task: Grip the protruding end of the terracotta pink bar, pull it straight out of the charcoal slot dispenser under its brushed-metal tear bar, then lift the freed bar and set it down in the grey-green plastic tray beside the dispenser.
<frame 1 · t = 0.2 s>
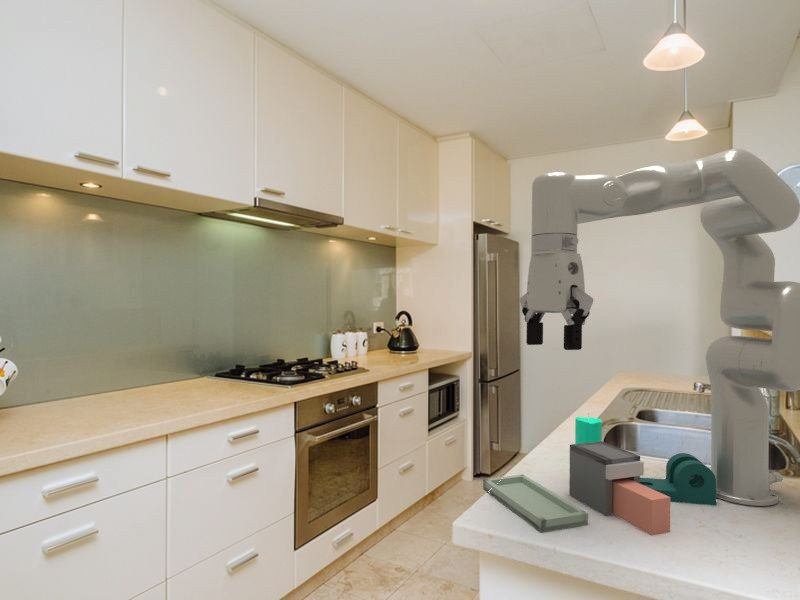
hand: (552, 347, 85), 31 cm above the counter, fingers open, 9 cm apart
terracotta pink bar: (624, 515, 90), on the counter
dispenser: (603, 502, 95), on the counter
tray: (531, 505, 94), on the counter
bracket: (659, 496, 100), on the counter
candle: (588, 464, 119), on the counter
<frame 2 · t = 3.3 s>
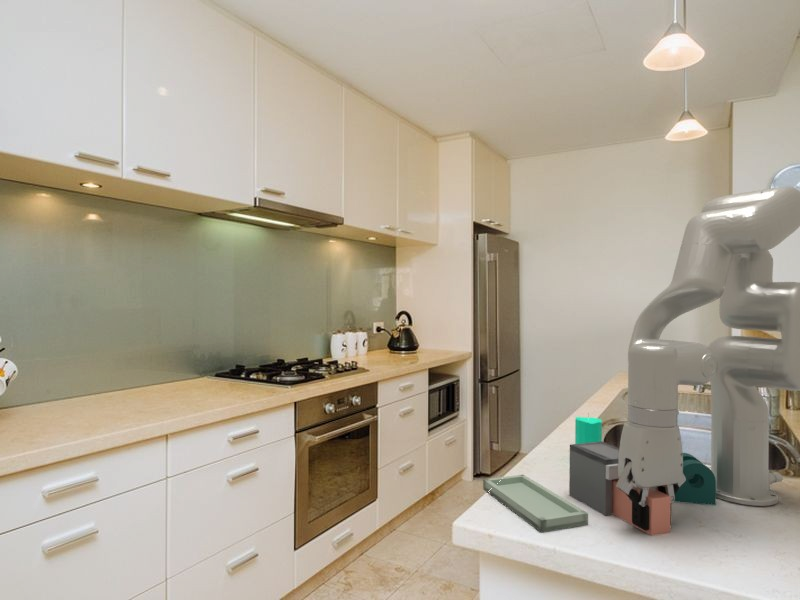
hand: (651, 523, 85), 1 cm above the counter, fingers closed on terracotta pink bar, 4 cm apart
terracotta pink bar: (624, 514, 90), on the counter, touching gripper
everything else where it was.
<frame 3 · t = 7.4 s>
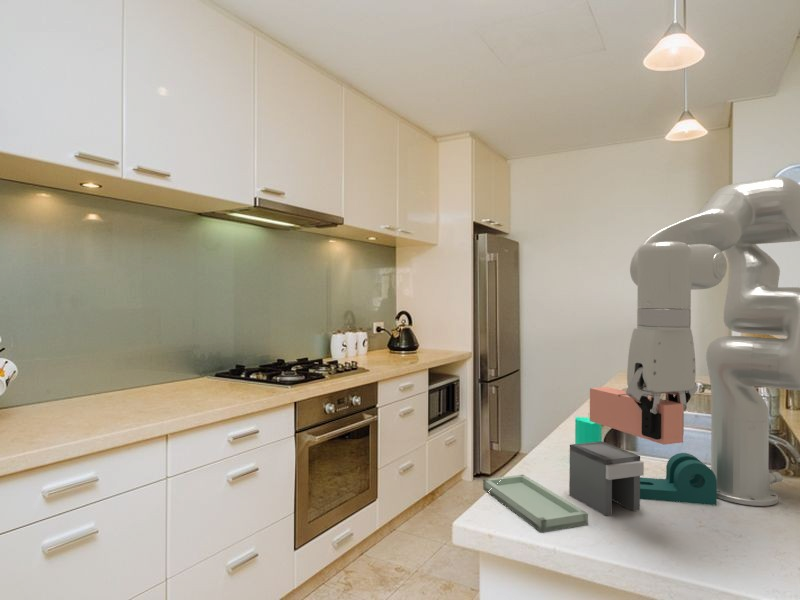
hand: (662, 434, 79), 17 cm above the counter, fingers closed on terracotta pink bar, 4 cm apart
terracotta pink bar: (632, 430, 85), point 16 cm above the counter, touching gripper
everything else where it was.
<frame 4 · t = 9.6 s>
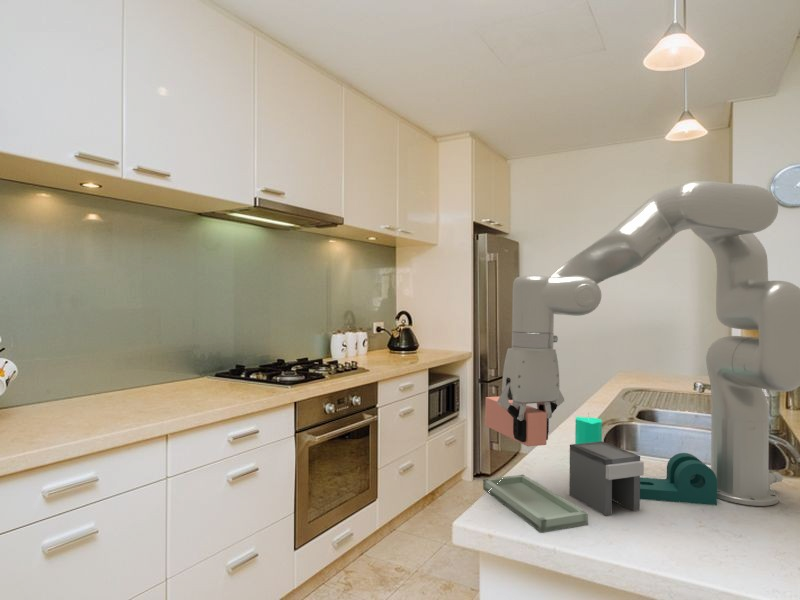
hand: (530, 438, 94), 13 cm above the counter, fingers closed on terracotta pink bar, 4 cm apart
terracotta pink bar: (513, 434, 99), point 12 cm above the counter, touching gripper
everything else where it was.
when the fingers open (3 cm above the counter, at t = 11.5 s): terracotta pink bar stays where it is, resting on tray.
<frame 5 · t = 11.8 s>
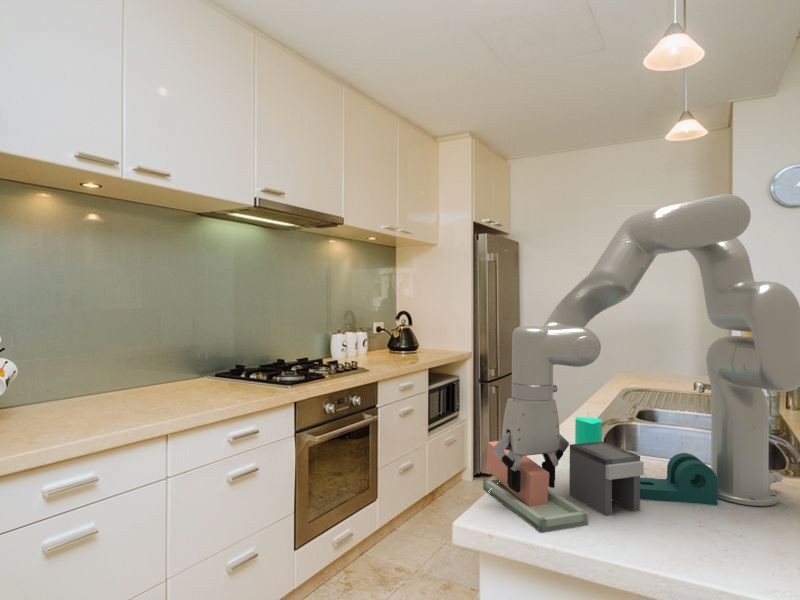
hand: (531, 486, 94), 4 cm above the counter, fingers open, 6 cm apart
terracotta pink bar: (514, 485, 99), point 2 cm above the counter, tilted 6°, touching tray
everything else where it was.
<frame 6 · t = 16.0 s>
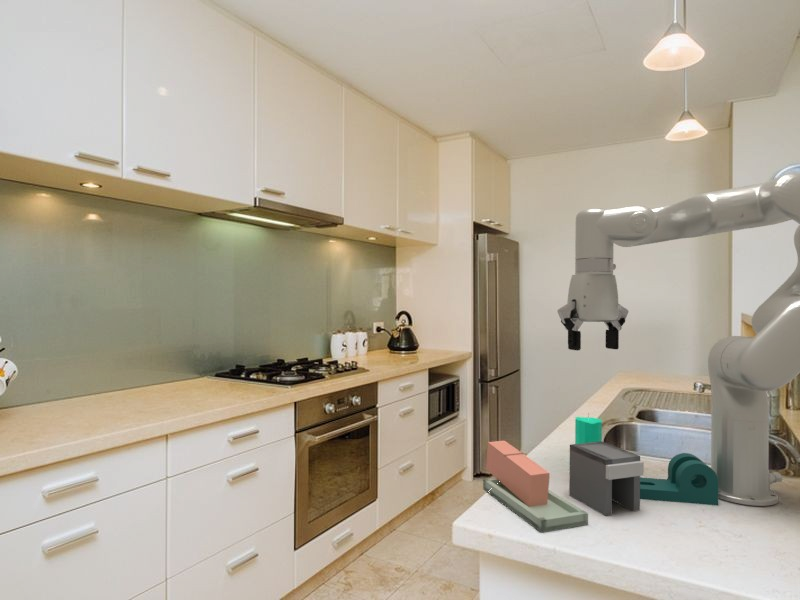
hand: (593, 349, 106), 28 cm above the counter, fingers open, 9 cm apart
nothing on the counter moved.
at the end: terracotta pink bar inside the target area on the tray (5.9 cm from its centre), point 1.7 cm above the tray's base; terracotta pink bar moved 20.0 cm from its start; the gripper is holding nothing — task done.
